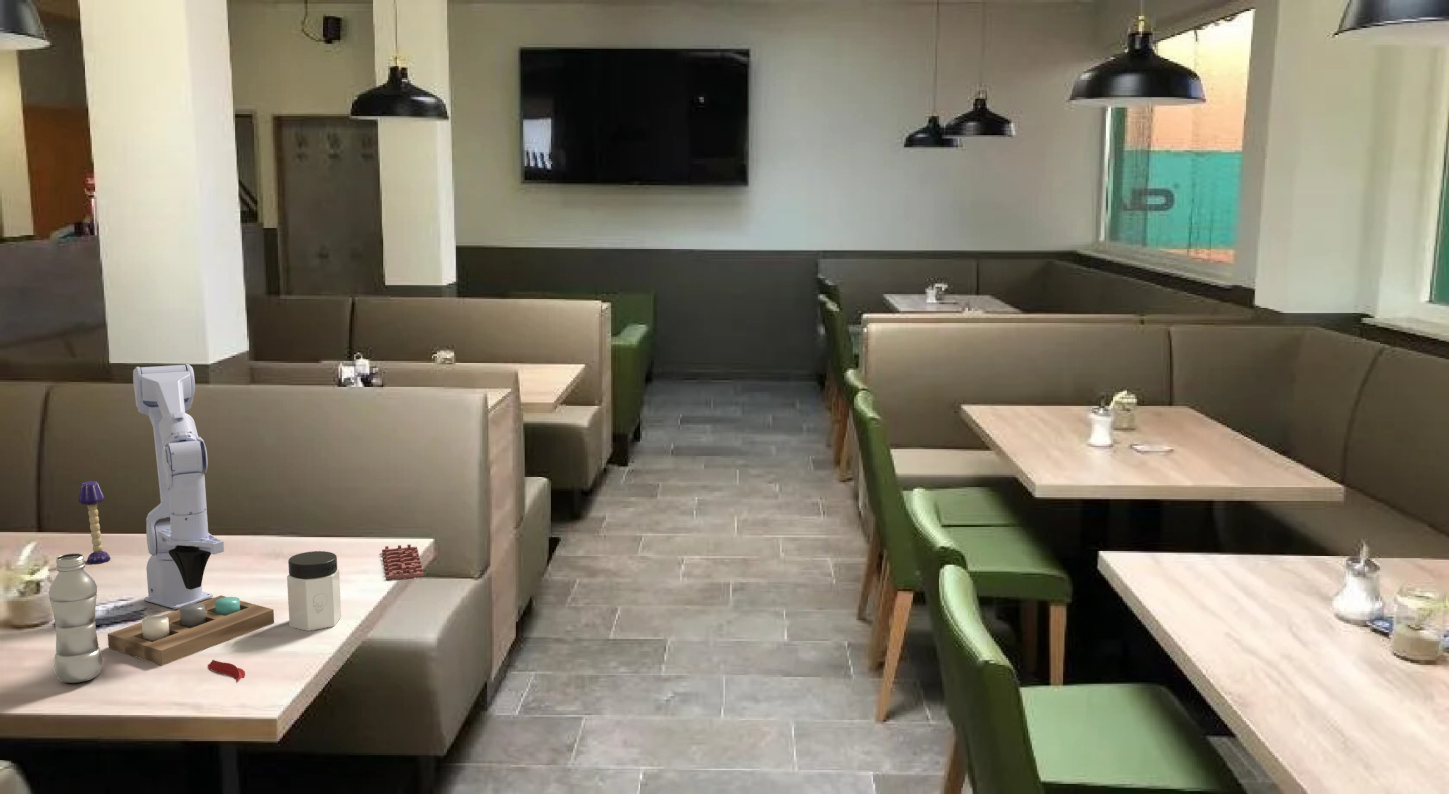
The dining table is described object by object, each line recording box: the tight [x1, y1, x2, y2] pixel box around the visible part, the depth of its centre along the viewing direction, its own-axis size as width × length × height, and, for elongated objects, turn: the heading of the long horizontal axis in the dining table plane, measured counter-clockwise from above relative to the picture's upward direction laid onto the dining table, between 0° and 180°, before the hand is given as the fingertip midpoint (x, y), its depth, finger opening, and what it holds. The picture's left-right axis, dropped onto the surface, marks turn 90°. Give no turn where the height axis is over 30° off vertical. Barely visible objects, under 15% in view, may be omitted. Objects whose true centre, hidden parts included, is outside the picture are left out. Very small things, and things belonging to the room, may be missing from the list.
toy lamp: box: [78, 480, 111, 565], centre depth 236 cm, size 5×5×17 cm
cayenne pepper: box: [207, 659, 246, 684], centre depth 185 cm, size 12×5×2 cm, turn 33°
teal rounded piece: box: [215, 596, 241, 616], centre depth 205 cm, size 4×4×3 cm
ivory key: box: [141, 615, 169, 641], centre depth 193 cm, size 4×4×3 cm
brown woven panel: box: [381, 543, 425, 581], centre depth 238 cm, size 7×19×2 cm, turn 19°
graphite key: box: [178, 602, 206, 627], centre depth 199 cm, size 4×4×3 cm
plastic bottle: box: [48, 552, 104, 684], centre depth 179 cm, size 6×7×20 cm
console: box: [107, 594, 275, 666], centre depth 199 cm, size 14×22×2 cm, turn 151°
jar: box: [286, 550, 342, 632], centre depth 205 cm, size 9×8×12 cm
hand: (193, 587), depth 198 cm, fingers closed
